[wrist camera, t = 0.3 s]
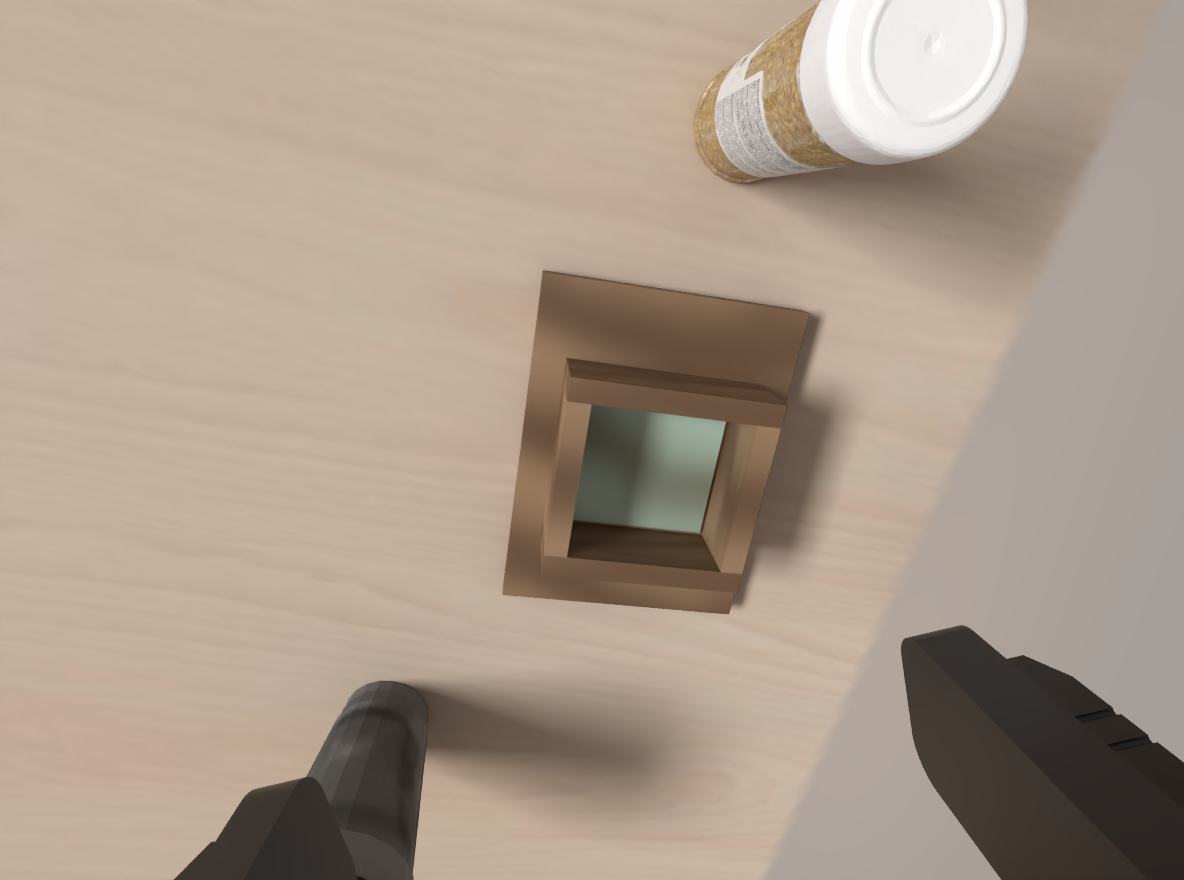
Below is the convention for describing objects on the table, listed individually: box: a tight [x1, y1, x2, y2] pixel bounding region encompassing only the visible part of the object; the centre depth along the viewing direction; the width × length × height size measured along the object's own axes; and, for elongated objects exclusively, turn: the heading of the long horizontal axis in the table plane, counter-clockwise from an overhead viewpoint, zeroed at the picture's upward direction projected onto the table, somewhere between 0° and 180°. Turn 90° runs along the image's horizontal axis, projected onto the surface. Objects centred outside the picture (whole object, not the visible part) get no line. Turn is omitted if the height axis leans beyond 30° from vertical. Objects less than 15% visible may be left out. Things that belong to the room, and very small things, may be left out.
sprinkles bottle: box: [694, 0, 1028, 183], centre depth 20 cm, size 5×5×14 cm
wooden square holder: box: [503, 271, 810, 614], centre depth 29 cm, size 16×12×4 cm
